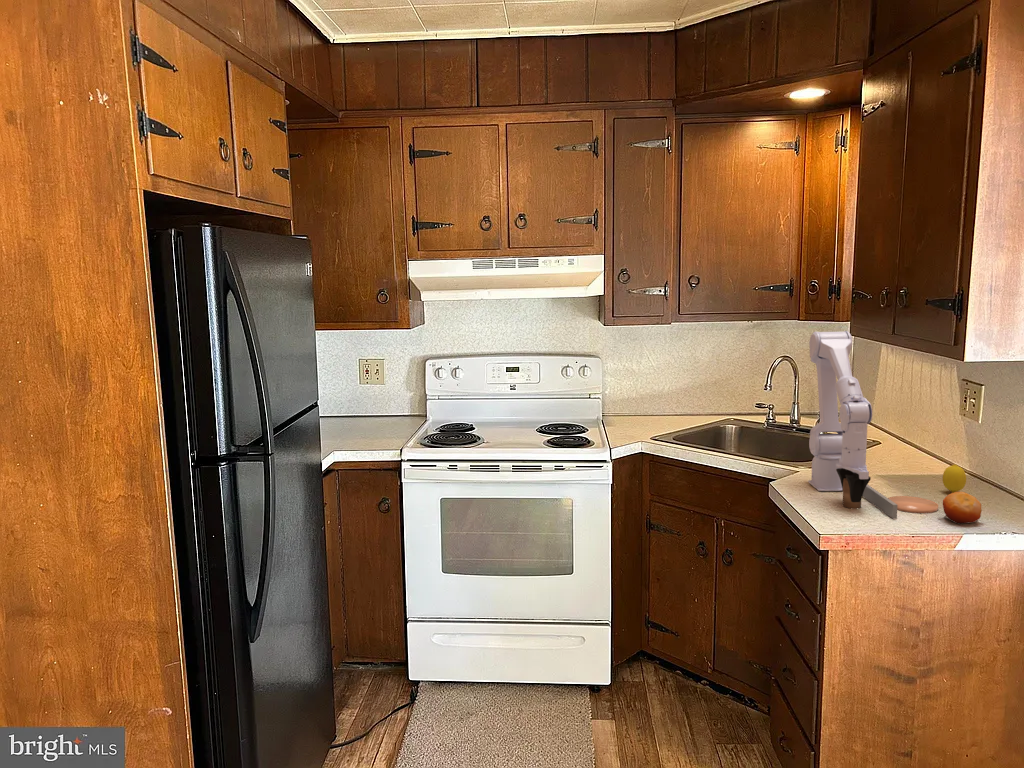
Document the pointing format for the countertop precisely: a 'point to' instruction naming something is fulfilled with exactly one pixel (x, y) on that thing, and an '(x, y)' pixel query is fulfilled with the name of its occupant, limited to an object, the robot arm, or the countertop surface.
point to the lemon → (954, 478)
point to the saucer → (914, 504)
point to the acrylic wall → (880, 501)
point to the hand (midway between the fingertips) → (851, 498)
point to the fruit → (962, 507)
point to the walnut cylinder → (848, 497)
